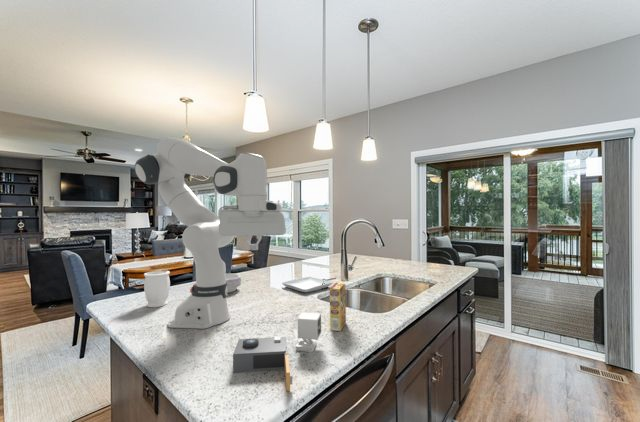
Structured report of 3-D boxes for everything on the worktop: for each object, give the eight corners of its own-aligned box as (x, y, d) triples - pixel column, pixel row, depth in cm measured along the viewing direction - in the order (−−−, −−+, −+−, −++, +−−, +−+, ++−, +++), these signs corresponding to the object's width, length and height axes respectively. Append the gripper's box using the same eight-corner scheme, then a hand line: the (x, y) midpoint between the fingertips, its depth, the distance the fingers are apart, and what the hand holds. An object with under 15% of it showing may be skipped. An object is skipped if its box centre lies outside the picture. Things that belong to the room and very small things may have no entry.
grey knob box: (233, 372, 77) (232, 350, 77) (239, 355, 86) (238, 336, 86) (285, 369, 79) (285, 347, 79) (286, 353, 88) (286, 333, 88)
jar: (138, 306, 131) (138, 273, 131) (159, 300, 141) (158, 269, 141) (155, 309, 127) (155, 275, 127) (175, 302, 137) (175, 271, 137)
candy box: (340, 331, 103) (340, 288, 103) (329, 330, 104) (329, 288, 104) (346, 322, 111) (346, 282, 111) (335, 321, 112) (335, 282, 112)
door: (292, 390, 69) (292, 371, 69) (286, 391, 69) (286, 372, 69) (290, 369, 79) (290, 352, 79) (284, 369, 78) (284, 352, 78)
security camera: (317, 353, 87) (317, 320, 87) (295, 351, 89) (294, 318, 89) (321, 343, 94) (321, 313, 94) (300, 341, 95) (300, 311, 95)
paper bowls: (236, 294, 149) (236, 279, 149) (206, 294, 149) (206, 279, 149) (244, 287, 164) (244, 273, 164) (217, 287, 164) (217, 273, 164)
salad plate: (280, 288, 163) (280, 281, 163) (309, 281, 177) (309, 275, 177) (304, 296, 147) (304, 289, 147) (334, 288, 162) (334, 282, 162)
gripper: (215, 205, 85) (215, 252, 85) (285, 205, 87) (285, 250, 87) (220, 205, 91) (220, 249, 91) (285, 205, 94) (285, 248, 94)
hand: (253, 250), depth 89 cm, fingers closed
